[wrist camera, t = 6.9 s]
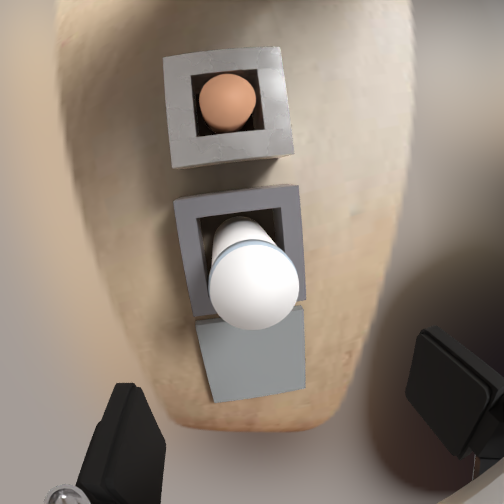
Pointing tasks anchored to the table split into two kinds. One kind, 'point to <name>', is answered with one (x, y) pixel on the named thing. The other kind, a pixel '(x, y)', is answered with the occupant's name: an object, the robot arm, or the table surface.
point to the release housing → (264, 113)
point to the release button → (226, 103)
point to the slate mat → (253, 357)
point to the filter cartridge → (250, 276)
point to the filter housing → (234, 201)
